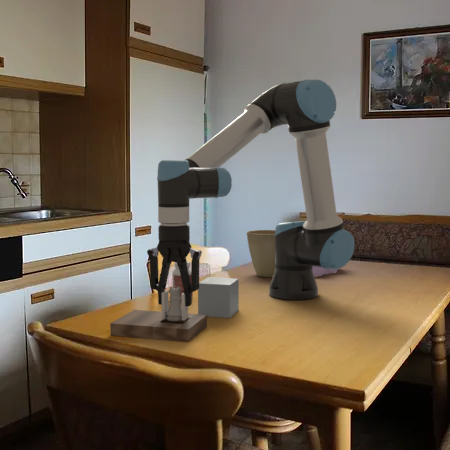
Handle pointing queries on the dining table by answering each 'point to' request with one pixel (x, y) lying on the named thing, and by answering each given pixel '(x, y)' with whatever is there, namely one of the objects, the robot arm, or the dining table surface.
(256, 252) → the plant pot
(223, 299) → the block
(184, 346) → the dining table surface
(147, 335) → the socket board
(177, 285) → the pill bottle
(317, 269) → the clip
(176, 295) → the rook chess piece
